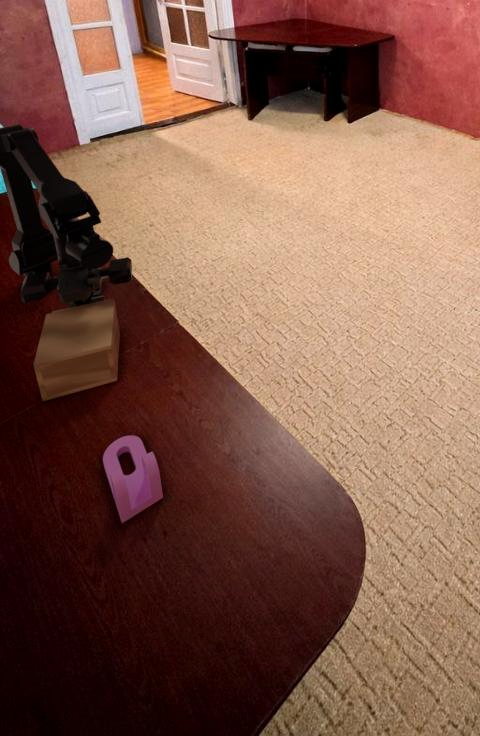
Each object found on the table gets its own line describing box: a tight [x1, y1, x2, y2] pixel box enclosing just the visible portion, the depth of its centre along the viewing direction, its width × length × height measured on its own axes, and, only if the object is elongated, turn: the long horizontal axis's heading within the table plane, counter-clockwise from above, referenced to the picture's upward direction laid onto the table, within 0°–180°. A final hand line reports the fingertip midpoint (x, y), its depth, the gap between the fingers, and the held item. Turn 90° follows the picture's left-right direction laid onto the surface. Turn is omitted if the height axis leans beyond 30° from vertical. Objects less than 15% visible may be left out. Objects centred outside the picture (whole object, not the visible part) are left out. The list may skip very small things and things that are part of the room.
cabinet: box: [33, 299, 121, 402], centre depth 93 cm, size 14×12×9 cm
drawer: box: [51, 295, 113, 313], centre depth 96 cm, size 17×10×7 cm, turn 27°
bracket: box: [102, 434, 164, 524], centre depth 74 cm, size 13×6×7 cm, turn 42°
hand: (86, 311), depth 102 cm, fingers closed
